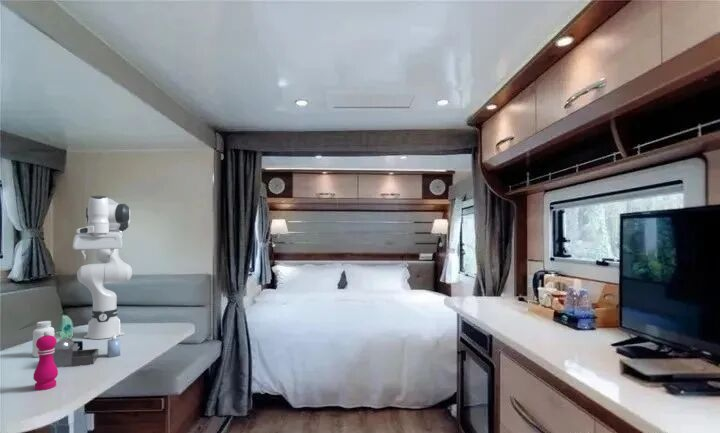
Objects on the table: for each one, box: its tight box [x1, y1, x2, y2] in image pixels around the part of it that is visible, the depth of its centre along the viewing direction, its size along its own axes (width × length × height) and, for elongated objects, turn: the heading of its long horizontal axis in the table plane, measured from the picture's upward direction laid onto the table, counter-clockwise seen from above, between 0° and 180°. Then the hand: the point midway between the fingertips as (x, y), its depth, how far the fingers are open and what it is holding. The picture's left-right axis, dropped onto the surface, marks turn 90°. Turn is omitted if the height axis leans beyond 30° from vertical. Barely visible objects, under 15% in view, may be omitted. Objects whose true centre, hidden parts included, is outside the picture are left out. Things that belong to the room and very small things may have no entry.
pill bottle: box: [31, 320, 55, 358], centre depth 199 cm, size 8×8×15 cm
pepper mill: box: [32, 331, 59, 391], centre depth 158 cm, size 7×7×20 cm
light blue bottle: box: [106, 335, 121, 358], centre depth 197 cm, size 5×5×9 cm
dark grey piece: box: [53, 337, 99, 368], centre depth 187 cm, size 13×16×10 cm
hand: (97, 259), depth 206 cm, fingers open, 8 cm apart
